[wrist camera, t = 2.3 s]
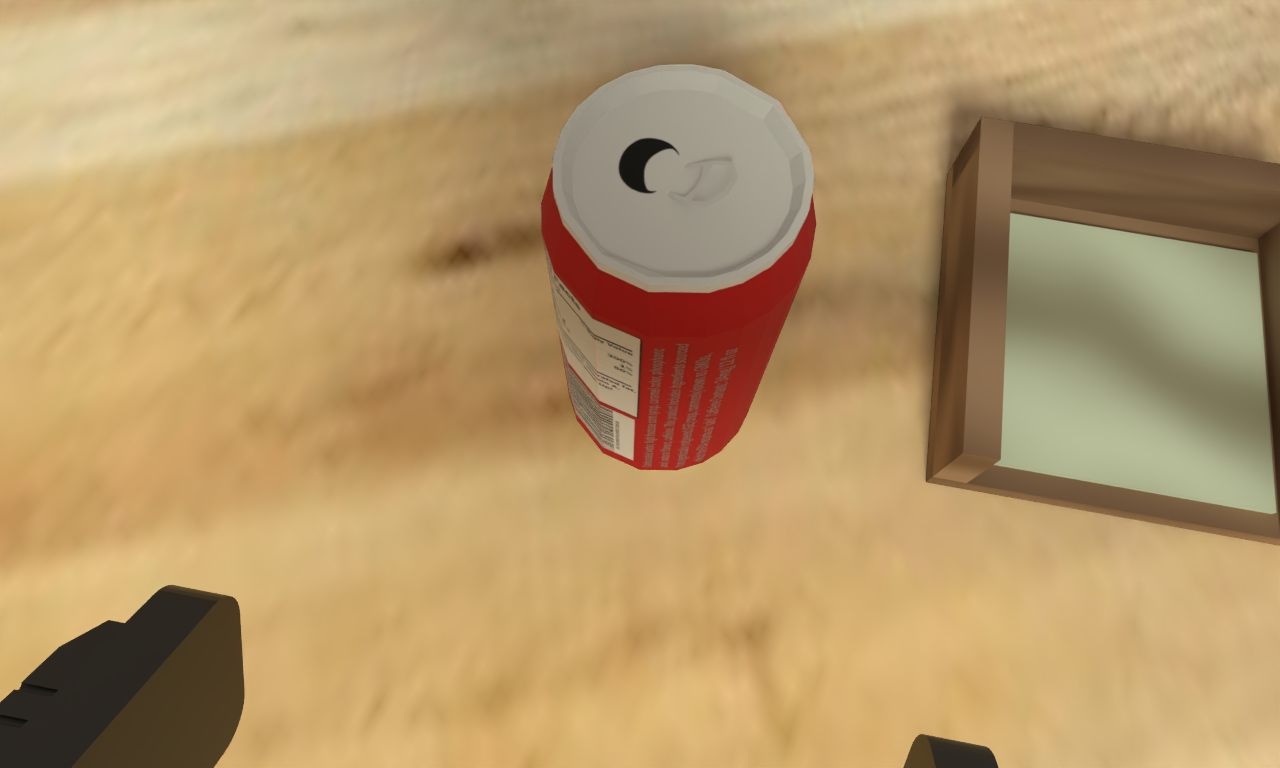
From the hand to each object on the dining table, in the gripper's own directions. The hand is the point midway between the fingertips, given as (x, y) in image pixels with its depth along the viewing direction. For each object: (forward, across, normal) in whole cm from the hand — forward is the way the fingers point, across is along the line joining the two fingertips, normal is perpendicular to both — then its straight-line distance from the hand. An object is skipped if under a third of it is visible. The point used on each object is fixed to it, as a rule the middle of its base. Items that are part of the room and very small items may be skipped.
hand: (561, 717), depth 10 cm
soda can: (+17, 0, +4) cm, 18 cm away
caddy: (+20, -14, +1) cm, 24 cm away
